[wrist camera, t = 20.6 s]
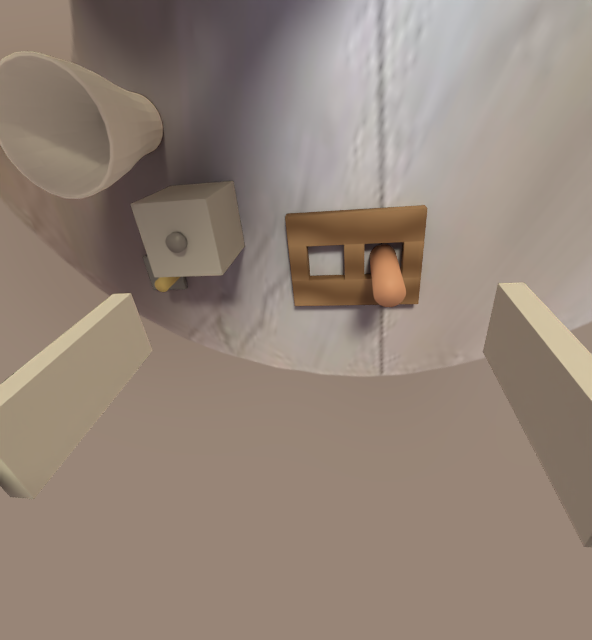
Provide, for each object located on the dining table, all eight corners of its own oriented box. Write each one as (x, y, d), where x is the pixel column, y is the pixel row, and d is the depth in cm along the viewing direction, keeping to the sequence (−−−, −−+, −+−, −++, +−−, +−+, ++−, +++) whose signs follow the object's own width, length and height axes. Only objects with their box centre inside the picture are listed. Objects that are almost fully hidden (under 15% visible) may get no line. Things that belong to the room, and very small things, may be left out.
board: (287, 213, 42) (285, 217, 41) (424, 205, 40) (427, 208, 39) (296, 300, 49) (294, 305, 47) (416, 298, 46) (418, 303, 45)
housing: (170, 185, 43) (125, 206, 34) (233, 180, 41) (202, 200, 33) (187, 248, 47) (151, 280, 38) (244, 245, 45) (220, 278, 37)
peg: (369, 245, 43) (373, 279, 35) (396, 243, 43) (406, 277, 34) (369, 269, 45) (373, 307, 36) (395, 267, 44) (405, 306, 36)
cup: (101, 165, 43) (9, 188, 31) (84, 59, 37) (-36, 40, 26) (184, 180, 42) (121, 208, 31) (180, 75, 36) (102, 62, 25)
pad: (144, 255, 48) (126, 268, 44) (178, 254, 47) (162, 267, 44) (155, 288, 51) (139, 303, 47) (187, 287, 50) (173, 302, 46)
